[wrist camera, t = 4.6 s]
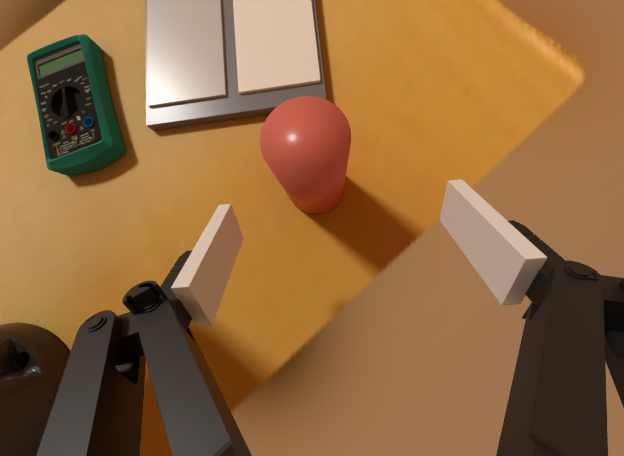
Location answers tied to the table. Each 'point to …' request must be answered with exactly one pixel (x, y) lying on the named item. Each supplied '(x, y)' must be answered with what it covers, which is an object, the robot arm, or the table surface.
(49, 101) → the digital multimeter
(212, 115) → the board
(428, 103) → the table surface
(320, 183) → the pink domed cylinder
